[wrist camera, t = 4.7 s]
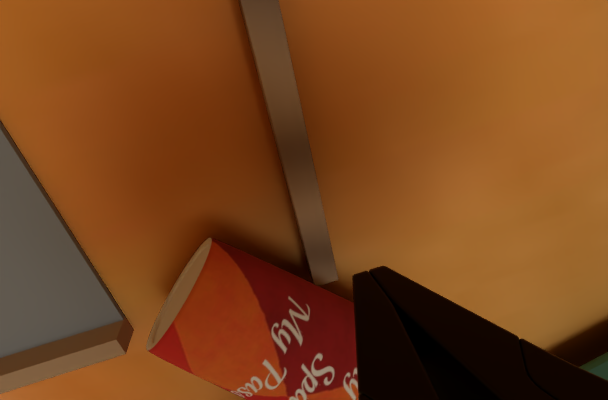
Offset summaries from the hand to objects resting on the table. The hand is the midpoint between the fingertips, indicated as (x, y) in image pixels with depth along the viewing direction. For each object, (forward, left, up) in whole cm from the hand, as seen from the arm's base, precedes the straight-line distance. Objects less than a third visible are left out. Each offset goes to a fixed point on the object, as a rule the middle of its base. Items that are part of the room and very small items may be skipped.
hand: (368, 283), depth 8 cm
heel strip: (0, 0, -11) cm, 11 cm away
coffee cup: (-4, +8, -8) cm, 12 cm away
